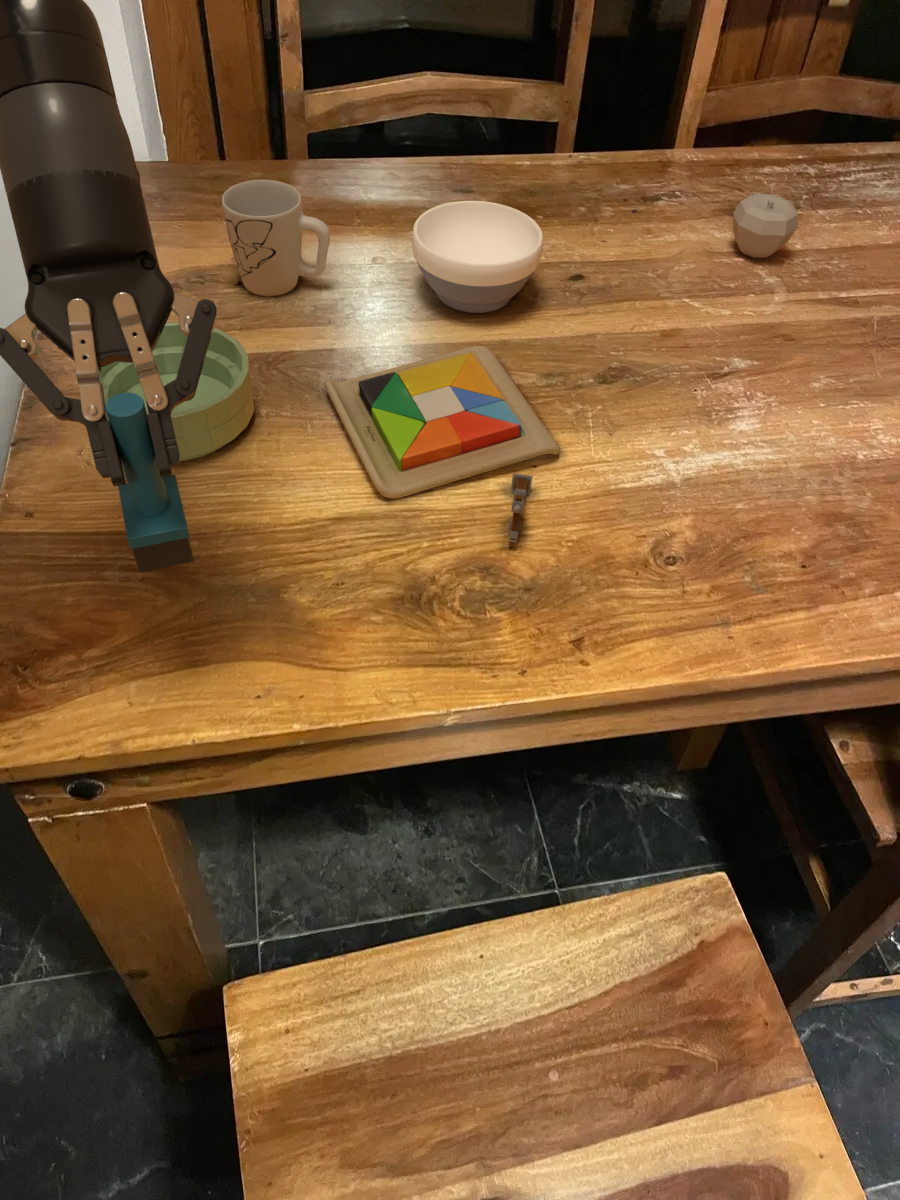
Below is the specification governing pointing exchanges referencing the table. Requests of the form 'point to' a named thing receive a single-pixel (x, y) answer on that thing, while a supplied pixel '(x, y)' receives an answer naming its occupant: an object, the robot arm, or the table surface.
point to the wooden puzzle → (438, 421)
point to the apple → (763, 224)
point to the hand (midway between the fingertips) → (143, 479)
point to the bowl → (476, 253)
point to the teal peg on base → (147, 491)
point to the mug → (271, 235)
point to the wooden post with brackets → (518, 504)
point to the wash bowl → (218, 395)
